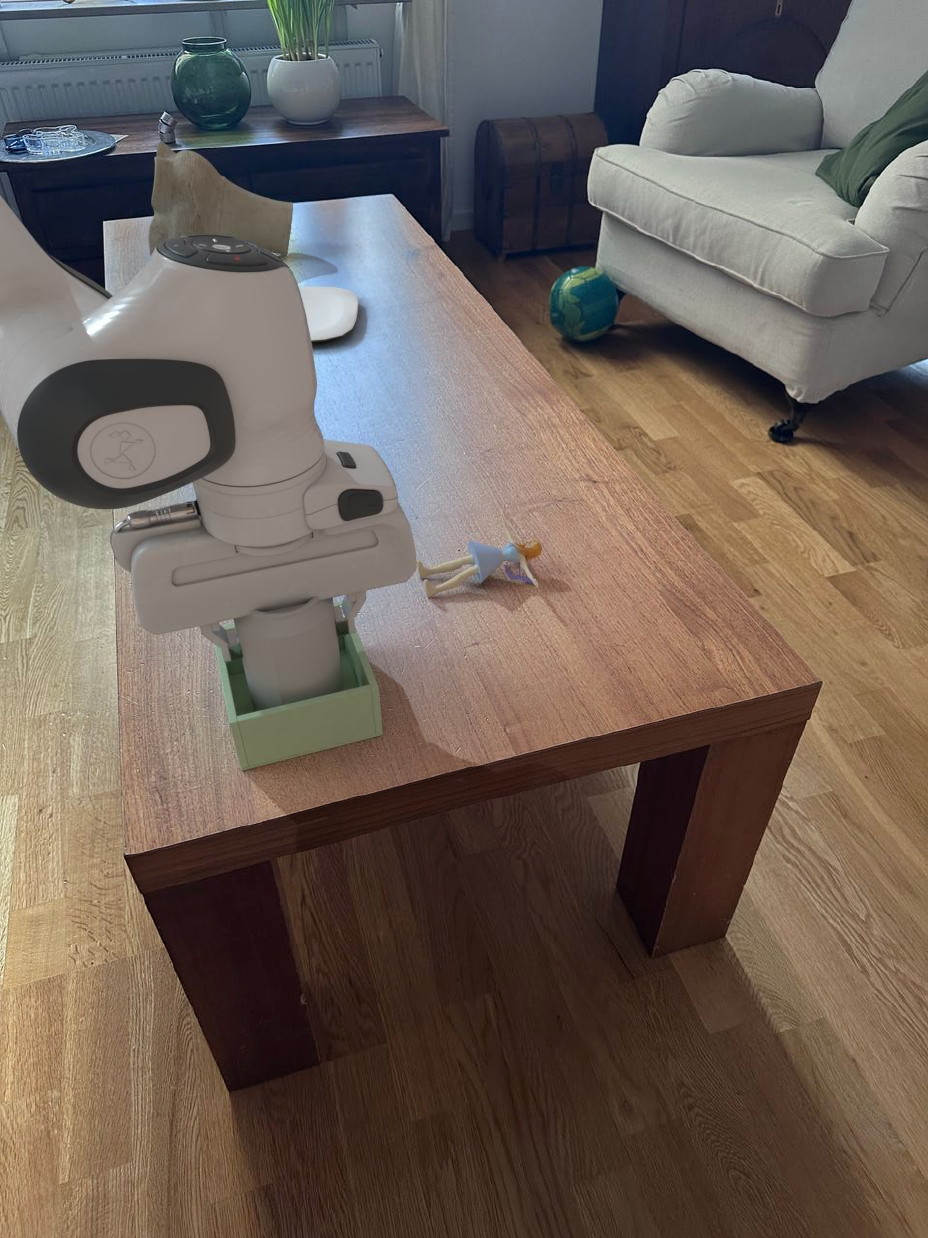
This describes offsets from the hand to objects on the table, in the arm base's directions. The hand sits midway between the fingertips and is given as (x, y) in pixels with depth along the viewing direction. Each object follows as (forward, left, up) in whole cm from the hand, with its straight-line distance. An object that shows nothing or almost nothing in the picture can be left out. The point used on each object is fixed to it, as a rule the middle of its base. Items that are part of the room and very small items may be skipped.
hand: (290, 642), depth 68 cm
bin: (0, 0, -7) cm, 7 cm away
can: (0, 0, -7) cm, 7 cm away
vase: (+10, +112, -7) cm, 113 cm away
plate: (+14, +81, -7) cm, 82 cm away
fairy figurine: (+20, +11, -7) cm, 24 cm away
